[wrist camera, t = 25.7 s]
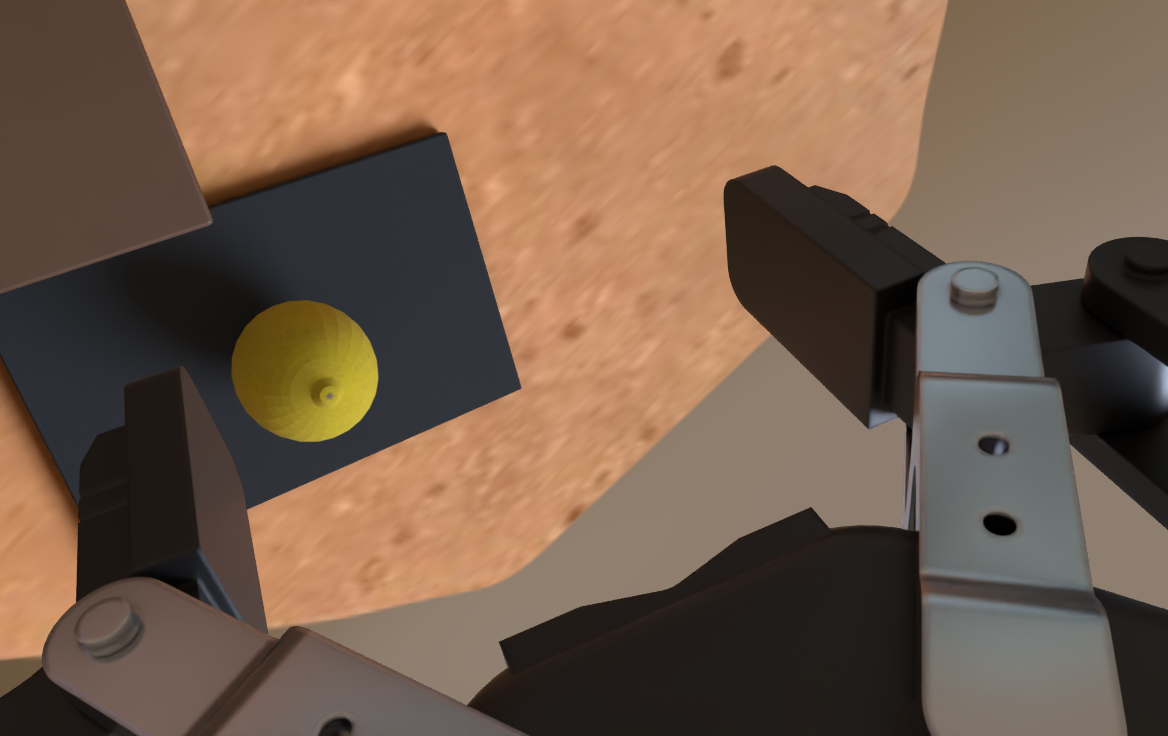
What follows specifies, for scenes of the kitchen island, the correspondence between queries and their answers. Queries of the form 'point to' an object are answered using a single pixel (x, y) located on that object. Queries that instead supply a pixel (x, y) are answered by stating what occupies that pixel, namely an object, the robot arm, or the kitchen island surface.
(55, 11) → the cupboard
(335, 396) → the lemon
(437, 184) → the mat
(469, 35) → the kitchen island surface
